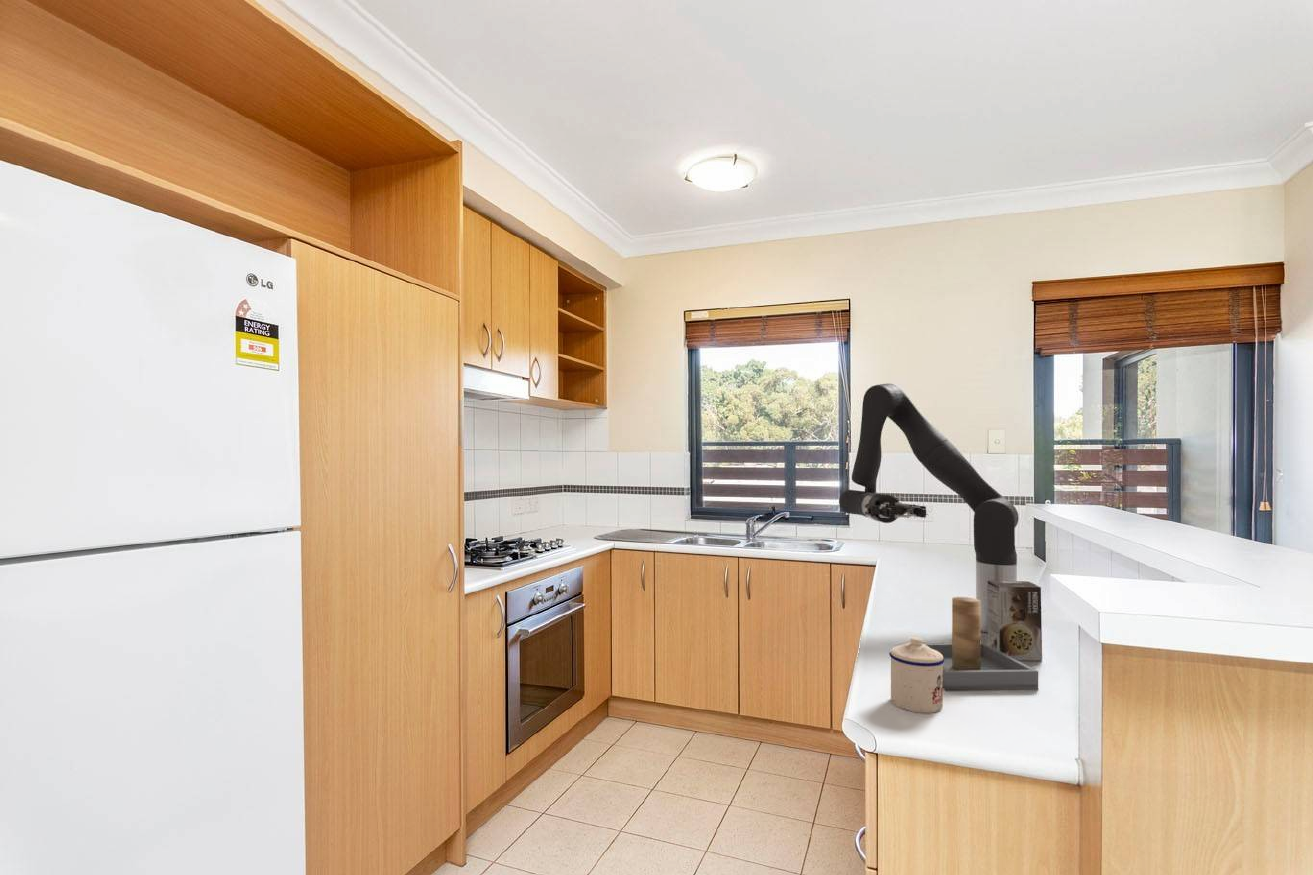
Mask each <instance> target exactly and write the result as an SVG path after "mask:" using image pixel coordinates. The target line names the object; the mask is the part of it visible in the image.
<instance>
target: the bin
mask: <svg viewBox="0 0 1313 875" xmlns="http://www.w3.org/2000/svg"><path fill="white" fill-rule="evenodd" d="M924 644H925V645H927V646H928V647H930V648H931V649H934V650H936V651H938V652H940V653H941V654H942V655H943V658H944V662H943V691H946V692H968V691H969V692H973V691H974V692H975V691H976V692H977V691H979V692H980V691H985V692H986V691H1033V690H1034V691H1038V690H1039V671H1038V670H1037V669H1036V668H1033V667H1031V666H1029V665H1027V664H1025V663H1023V662H1022V661H1021V660H1016V659H1014V658H1012V657H1010V656H1008V655H1006V654H1004V653H1002V652H1001V651H999V650H997V649H995V648H993V647H991V646H989V645H988V643H985V642H981V670H955V669H953V668H952V642H951V643H924Z"/></svg>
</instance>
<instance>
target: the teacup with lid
mask: <svg viewBox="0 0 1313 875" xmlns="http://www.w3.org/2000/svg"><path fill="white" fill-rule="evenodd" d="M925 644H926V643H923V639H922V638H921V637H917V636H915V637H911V638H910V642H906V643H904V644H902V645H901V644H900V645H897V646H893V647H892V648H891V649H890V650H889V657H890V700H891V702H892V704H893V705H894V706H896V707H898V708H900V709H902V710H905V711H909V712H912V713H913V712H914V713H919V714H920V713H921V714H933V713H937V712H940V711H941V710H942V709H943V707H944V706H943V705H944V704H943V703H944V702H943V700H944V699H943V698H944V695H943V694H944V693H943V692H944V689H943V662H944V658H943V655H942V654H941V653H940V652H938V651H936V650H934V649H931V648H930V647H928V646H927V645H925Z"/></svg>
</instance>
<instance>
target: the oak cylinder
mask: <svg viewBox="0 0 1313 875" xmlns="http://www.w3.org/2000/svg"><path fill="white" fill-rule="evenodd" d="M951 602H952V604H951V606H952V608H951V611H952V612H951V615H952V616H951V618H952V619H951V620H952V621H951V623H952V626H951V628H952V629H951V630H952V632H951V634H952V635H951V636H952V637H951V638H952V641H951V643H952V668H953V669H955V670H981V643H982V642H981V641H982V640H981V636H982V635H981V632H982V631H981V601H980V600H978V599H976V598H975V597H974V598H973V597H966V596H954V597H952V600H951Z"/></svg>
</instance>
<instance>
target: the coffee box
mask: <svg viewBox="0 0 1313 875" xmlns="http://www.w3.org/2000/svg"><path fill="white" fill-rule="evenodd" d="M1042 623H1043V622H1042V587H1041V586H1039V585H1037V584H1035V583H1033V582H1030V581H1025V580H1024V581H1022V580H1019V581H1018V580H1017V581H988V633H987V637H988V640H987V645H989V646H991V647H993V648H995V649H997V650H999V651H1001V652H1002V653H1004V654H1006V655H1008V656H1010V657H1012V658H1014V659H1016V660H1018V661H1038V662H1039V661H1041V662H1042V661H1043V635H1042V634H1043V632H1042Z"/></svg>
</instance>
